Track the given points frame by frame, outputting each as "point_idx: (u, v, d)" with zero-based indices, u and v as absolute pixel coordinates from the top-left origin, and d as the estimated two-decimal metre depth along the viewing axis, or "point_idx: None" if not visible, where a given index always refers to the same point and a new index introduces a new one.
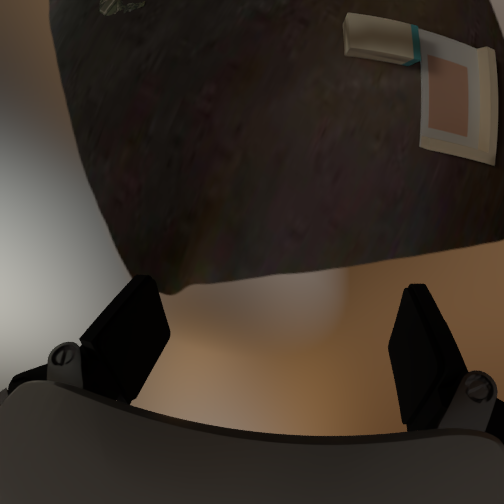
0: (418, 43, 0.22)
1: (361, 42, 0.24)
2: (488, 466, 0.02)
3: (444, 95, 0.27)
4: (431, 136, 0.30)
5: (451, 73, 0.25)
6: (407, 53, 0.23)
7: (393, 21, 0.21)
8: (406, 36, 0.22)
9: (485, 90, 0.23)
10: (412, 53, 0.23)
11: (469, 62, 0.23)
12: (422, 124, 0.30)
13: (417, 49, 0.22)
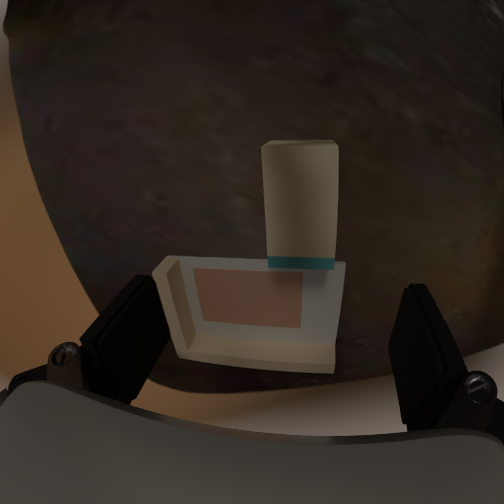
0: (299, 266, 0.21)
1: (275, 166, 0.18)
2: (488, 466, 0.02)
3: (245, 292, 0.29)
4: (183, 272, 0.29)
5: (282, 305, 0.28)
6: (274, 246, 0.21)
7: (333, 228, 0.19)
8: (307, 247, 0.20)
9: (270, 351, 0.30)
10: (276, 254, 0.21)
11: (309, 331, 0.29)
12: (194, 259, 0.28)
13: (286, 263, 0.21)
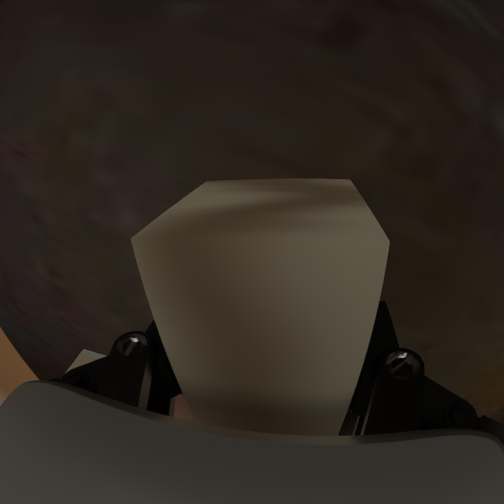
0: None
1: (180, 297, 0.06)
2: (488, 466, 0.02)
3: None
4: None
5: None
6: None
7: (339, 415, 0.07)
8: None
9: None
10: None
11: None
12: None
13: None
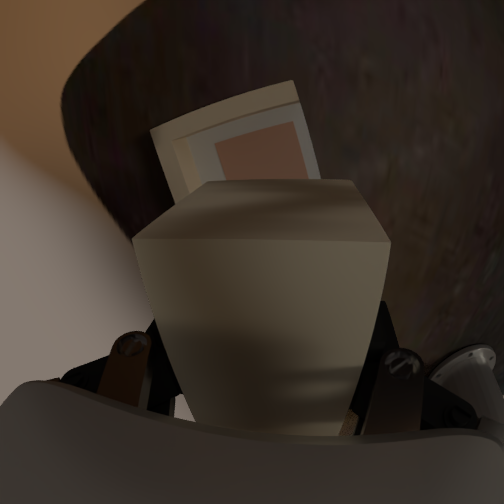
0: None
1: (181, 297, 0.06)
2: (488, 466, 0.02)
3: None
4: (281, 109, 0.21)
5: None
6: None
7: (339, 416, 0.07)
8: None
9: None
10: None
11: None
12: (305, 121, 0.21)
13: None
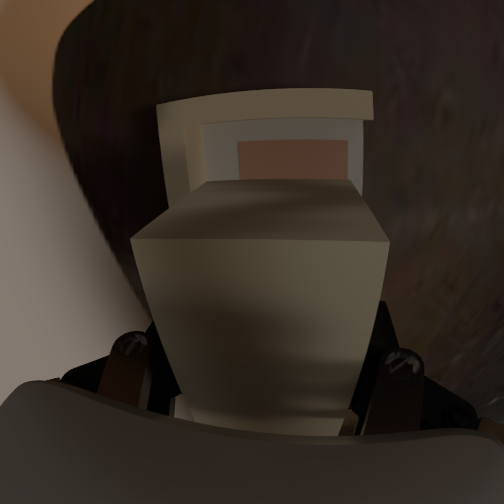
0: None
1: (179, 297, 0.06)
2: (488, 466, 0.02)
3: None
4: (337, 121, 0.16)
5: None
6: None
7: (338, 416, 0.07)
8: None
9: None
10: None
11: None
12: None
13: None
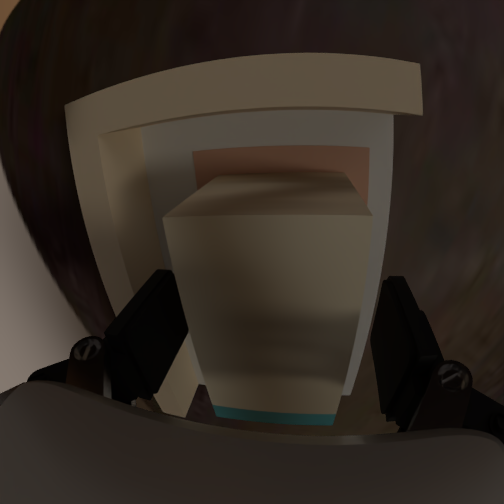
0: (270, 420, 0.10)
1: (202, 267, 0.07)
2: (488, 466, 0.02)
3: None
4: (352, 116, 0.09)
5: None
6: (221, 396, 0.10)
7: (339, 380, 0.08)
8: (284, 403, 0.09)
9: None
10: (228, 405, 0.10)
11: None
12: (392, 157, 0.10)
13: (248, 416, 0.10)
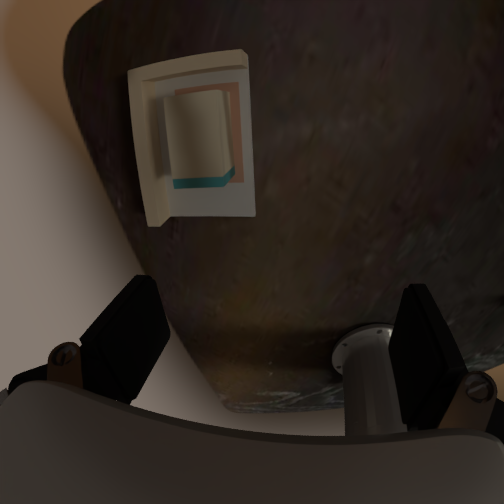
0: (196, 186, 0.26)
1: (173, 110, 0.22)
2: (488, 466, 0.02)
3: None
4: (231, 71, 0.24)
5: None
6: (176, 170, 0.25)
7: (218, 151, 0.24)
8: (200, 169, 0.25)
9: (155, 162, 0.29)
10: (179, 177, 0.26)
11: (181, 192, 0.32)
12: (248, 84, 0.25)
13: (187, 184, 0.26)
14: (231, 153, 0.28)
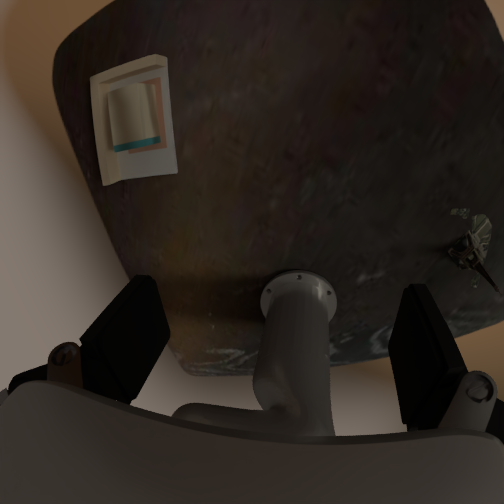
0: (127, 148, 0.34)
1: (113, 99, 0.31)
2: (488, 466, 0.02)
3: None
4: (156, 70, 0.33)
5: None
6: (115, 139, 0.33)
7: (139, 123, 0.32)
8: (129, 136, 0.33)
9: (108, 139, 0.37)
10: (117, 144, 0.33)
11: (127, 160, 0.40)
12: (166, 77, 0.33)
13: (122, 148, 0.34)
14: (155, 126, 0.36)
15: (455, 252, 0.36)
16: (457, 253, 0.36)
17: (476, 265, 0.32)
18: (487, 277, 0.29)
